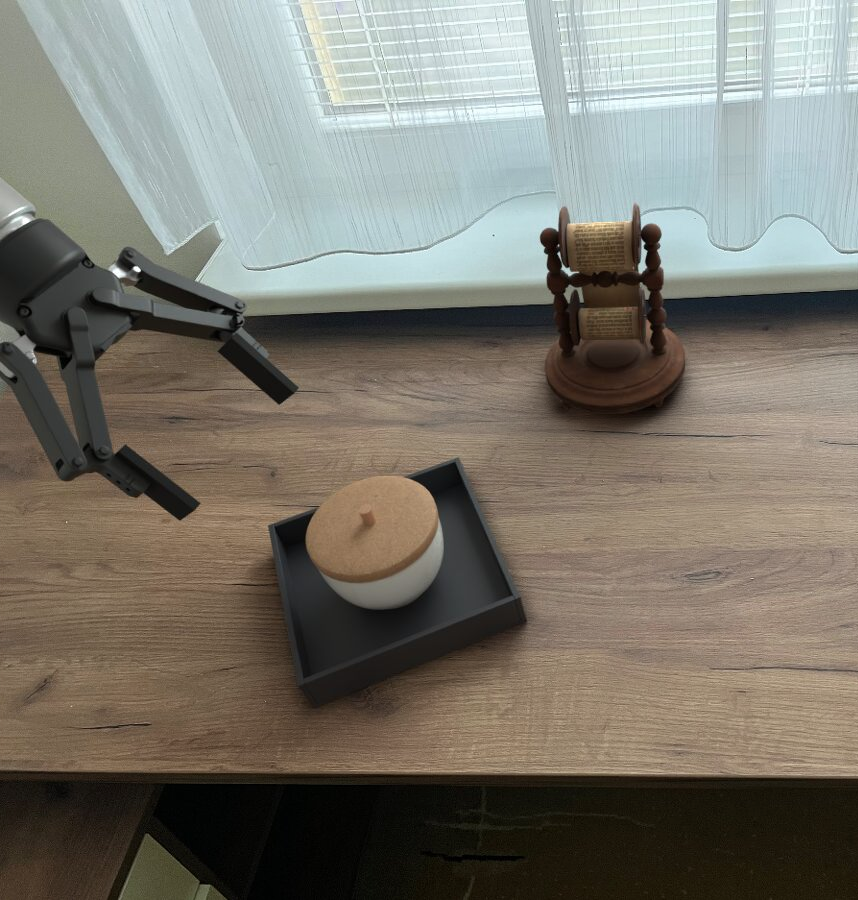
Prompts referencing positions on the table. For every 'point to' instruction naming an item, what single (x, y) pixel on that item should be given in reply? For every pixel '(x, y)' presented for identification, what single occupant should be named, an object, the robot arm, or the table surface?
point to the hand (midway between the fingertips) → (243, 450)
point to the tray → (405, 628)
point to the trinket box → (377, 542)
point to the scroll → (609, 317)
